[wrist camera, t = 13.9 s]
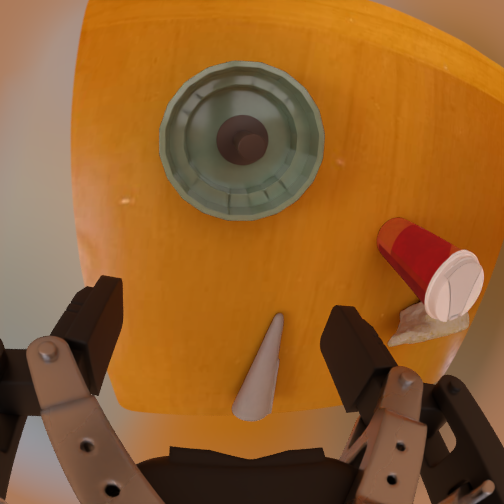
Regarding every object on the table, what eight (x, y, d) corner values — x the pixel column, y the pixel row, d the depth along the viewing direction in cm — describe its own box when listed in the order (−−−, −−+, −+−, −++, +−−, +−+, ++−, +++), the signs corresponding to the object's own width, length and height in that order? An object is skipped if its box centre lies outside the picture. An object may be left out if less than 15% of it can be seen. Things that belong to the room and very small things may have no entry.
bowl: (143, 124, 29) (127, 125, 24) (259, 48, 27) (267, 33, 21) (221, 228, 35) (222, 249, 30) (330, 158, 33) (351, 166, 28)
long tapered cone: (244, 327, 36) (235, 423, 42) (292, 324, 38) (273, 418, 44) (235, 305, 42) (228, 399, 48) (278, 303, 43) (264, 395, 49)
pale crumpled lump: (451, 294, 47) (475, 276, 34) (458, 331, 45) (485, 325, 32) (379, 312, 52) (381, 300, 39) (384, 349, 50) (389, 351, 37)
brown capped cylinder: (207, 133, 30) (200, 138, 20) (247, 106, 29) (263, 98, 19) (234, 171, 32) (242, 196, 22) (274, 145, 31) (301, 157, 21)
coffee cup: (414, 259, 40) (476, 315, 27) (368, 268, 40) (424, 335, 26) (419, 205, 37) (493, 249, 23) (370, 211, 36) (440, 264, 23)
